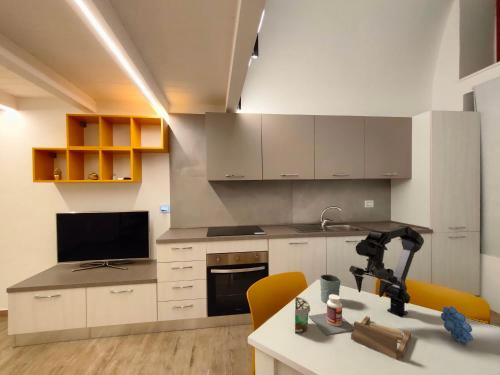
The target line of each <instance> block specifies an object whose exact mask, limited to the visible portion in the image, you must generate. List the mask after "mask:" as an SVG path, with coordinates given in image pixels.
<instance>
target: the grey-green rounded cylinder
mask: <svg viewBox="0 0 500 375" xmlns="http://www.w3.org/2000/svg"><path fill="white" fill-rule="evenodd" d="M341 281H342V280H341V278H340V277H338V276H337V275H334V274H329V273H327V274H321V275H320V276H319V282H320V283H319V284H320V300H321V302H322V303H324V304H325V305H327V301H328V300H329V295H331V294H334V295H338V296H339V297H340V289H341Z"/></svg>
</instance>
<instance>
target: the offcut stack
mask: <svg viewBox="0 0 500 375" xmlns="http://www.w3.org/2000/svg"><path fill="white" fill-rule="evenodd" d="M368 326H370V327H372V328H375V329H378V330H380V331H383V332H386V333H388V334H391V335H394V336H396V337H397V344H400V343H401V341H402V339H403V336H404V334H403V333H402V330H400V329H398V328H392V327H390V326H384V325H380V324H377V323H373V322H369V324H368Z"/></svg>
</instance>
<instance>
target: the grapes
mask: <svg viewBox="0 0 500 375" xmlns="http://www.w3.org/2000/svg"><path fill="white" fill-rule="evenodd" d="M441 310H442V313H440V318H441V320H442V321H443V322H444V323H443V327H444V329H445V330H446V331H448V332H449V333H450V336H451V338H452V339H453V340H455V341H459V342H460V343H461V344H463V345H467V344H468V343H469V342H472V341H473V340H474V336H473V335H472V333H471V332H473V327H472V325H471V324H470V323H468V322H466V321H467V317H466V316H465V315H464V314H463V312H460V311H459V312H458V309H457V308H456V307H454V306H452V305H451V306H449V307H447V306H443V307H442V309H441Z"/></svg>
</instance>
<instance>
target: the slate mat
mask: <svg viewBox="0 0 500 375" xmlns="http://www.w3.org/2000/svg"><path fill="white" fill-rule="evenodd" d="M308 319H310V320H311V321H312V322H313V323H314V324H315V325H316V326H317V328H319V329H320V330H321V331H322V332H323V333H324V334H325V336H332V335H337V334H342V333H349V332H353V331H354V324H352V323H350V322H349V321H348V320H347V319H346V318H344V317H343V316H342V324H341V325H340V326H333V325H330V324H329V323H328V322H327V312H325V313H318V314H312V315H308Z"/></svg>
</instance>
